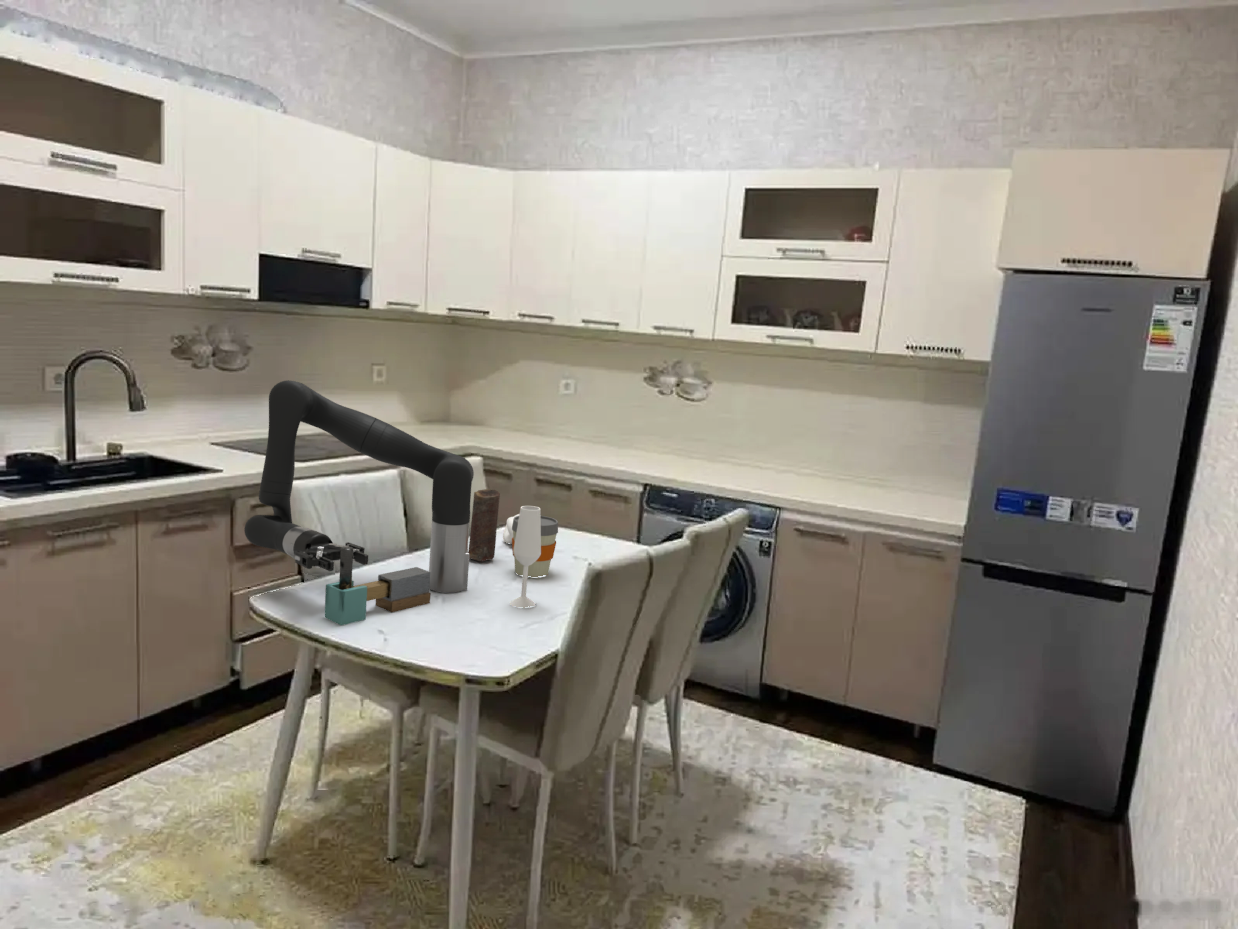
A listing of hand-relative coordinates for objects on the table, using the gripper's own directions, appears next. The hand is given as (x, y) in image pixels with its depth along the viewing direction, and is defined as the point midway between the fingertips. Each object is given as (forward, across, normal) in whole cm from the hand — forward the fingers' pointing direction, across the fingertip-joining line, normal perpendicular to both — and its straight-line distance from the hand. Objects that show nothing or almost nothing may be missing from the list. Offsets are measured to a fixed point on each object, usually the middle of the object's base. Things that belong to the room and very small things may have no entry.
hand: (349, 563), depth 184 cm
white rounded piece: (-23, +76, +13) cm, 81 cm away
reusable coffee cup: (-1, +59, +13) cm, 60 cm away
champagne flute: (+15, +39, +13) cm, 44 cm away
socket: (-1, 0, +13) cm, 13 cm away
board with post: (-1, +5, +9) cm, 11 cm away
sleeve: (-1, +16, +13) cm, 21 cm away
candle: (-18, +56, +13) cm, 60 cm away
